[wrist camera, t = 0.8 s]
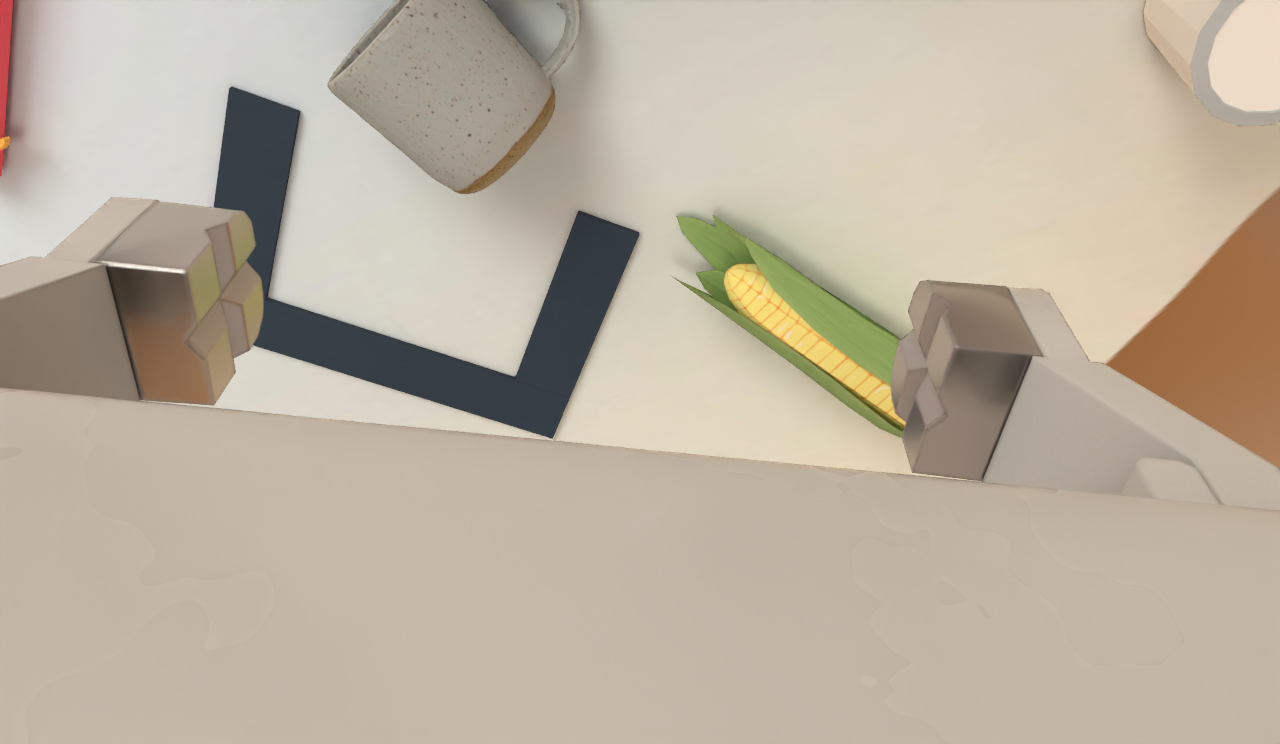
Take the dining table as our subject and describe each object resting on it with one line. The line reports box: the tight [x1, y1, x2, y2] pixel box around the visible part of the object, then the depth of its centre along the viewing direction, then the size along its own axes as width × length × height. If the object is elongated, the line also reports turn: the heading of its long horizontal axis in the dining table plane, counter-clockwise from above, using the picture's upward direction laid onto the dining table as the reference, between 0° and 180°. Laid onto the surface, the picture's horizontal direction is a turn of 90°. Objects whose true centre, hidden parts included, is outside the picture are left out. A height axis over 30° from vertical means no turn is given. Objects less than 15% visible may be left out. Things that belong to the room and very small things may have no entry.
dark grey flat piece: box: [214, 87, 639, 438], centre depth 55 cm, size 16×22×1 cm
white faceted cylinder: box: [1143, 0, 1280, 126], centre depth 42 cm, size 7×7×7 cm
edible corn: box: [670, 215, 906, 437], centre depth 54 cm, size 5×20×5 cm, turn 53°
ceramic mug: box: [328, 0, 580, 194], centre depth 44 cm, size 11×8×8 cm
